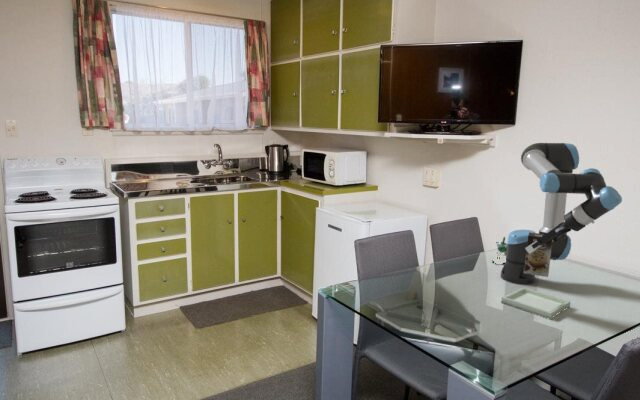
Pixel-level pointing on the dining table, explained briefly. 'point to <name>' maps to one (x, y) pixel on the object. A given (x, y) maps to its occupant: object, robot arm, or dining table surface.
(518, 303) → the tray
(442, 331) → the dining table surface
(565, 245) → the robot arm
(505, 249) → the frog figurine
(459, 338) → the dining table surface
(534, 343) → the dining table surface
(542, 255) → the coffee box
